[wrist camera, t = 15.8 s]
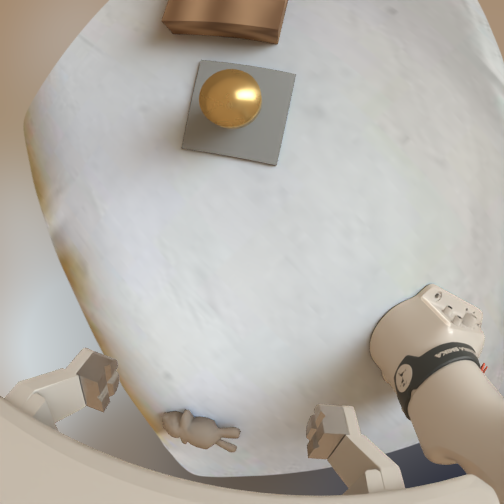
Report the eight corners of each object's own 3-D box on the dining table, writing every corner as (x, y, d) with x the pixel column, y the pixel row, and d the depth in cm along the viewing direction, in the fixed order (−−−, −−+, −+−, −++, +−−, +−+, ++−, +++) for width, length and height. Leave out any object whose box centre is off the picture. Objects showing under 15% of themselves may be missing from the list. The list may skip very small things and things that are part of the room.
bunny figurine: (157, 414, 46) (238, 438, 44) (168, 396, 51) (244, 418, 49) (161, 440, 49) (232, 462, 47) (170, 424, 54) (238, 444, 52)
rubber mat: (295, 75, 32) (295, 74, 31) (276, 165, 36) (276, 165, 35) (201, 61, 32) (201, 60, 31) (183, 148, 36) (181, 148, 35)
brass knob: (267, 91, 32) (266, 74, 25) (258, 137, 34) (254, 131, 27) (219, 83, 32) (206, 65, 25) (210, 128, 34) (193, 121, 27)
